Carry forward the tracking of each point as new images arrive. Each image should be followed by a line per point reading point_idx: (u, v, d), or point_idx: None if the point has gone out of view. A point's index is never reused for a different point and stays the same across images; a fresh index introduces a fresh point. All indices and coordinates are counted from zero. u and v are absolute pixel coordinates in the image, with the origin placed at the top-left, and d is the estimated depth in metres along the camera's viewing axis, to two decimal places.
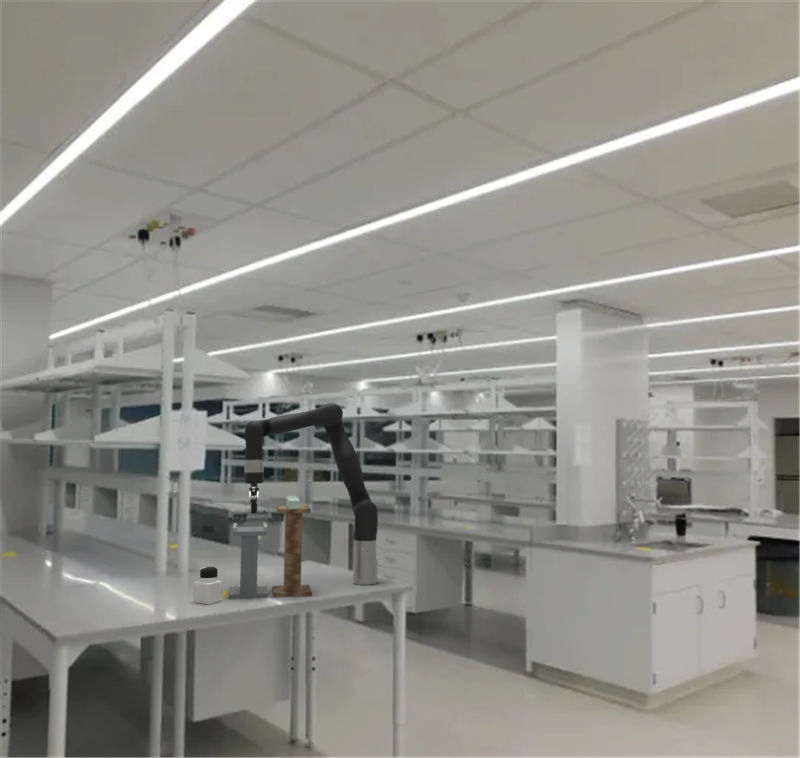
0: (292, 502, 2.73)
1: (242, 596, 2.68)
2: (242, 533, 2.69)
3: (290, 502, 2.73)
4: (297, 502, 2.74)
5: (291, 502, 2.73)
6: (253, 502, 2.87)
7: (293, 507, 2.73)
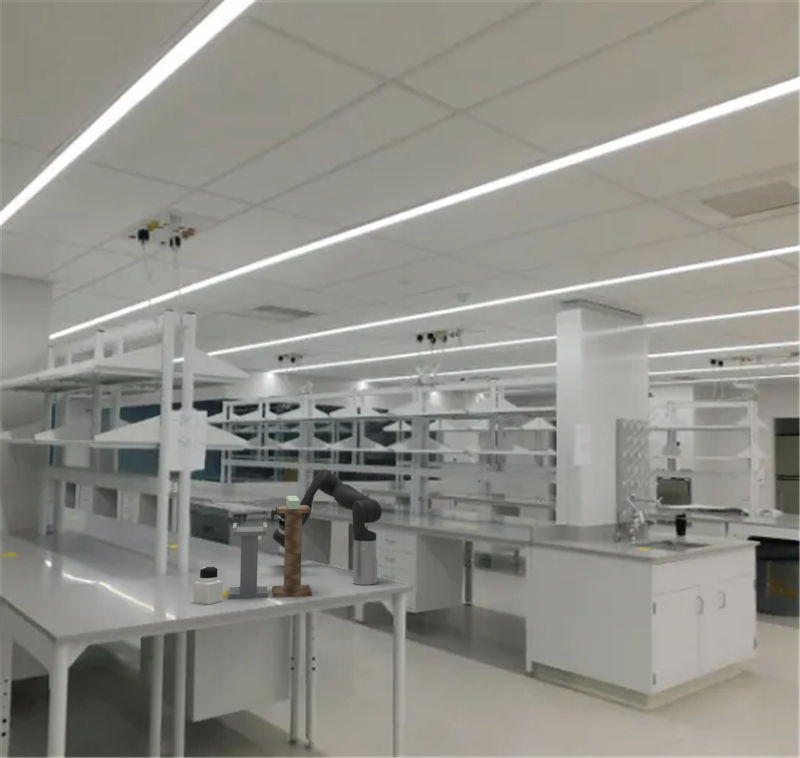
0: (292, 502, 2.73)
1: (242, 596, 2.68)
2: (242, 533, 2.69)
3: (290, 502, 2.73)
4: (297, 502, 2.74)
5: (291, 502, 2.73)
6: (273, 512, 3.11)
7: (293, 507, 2.73)
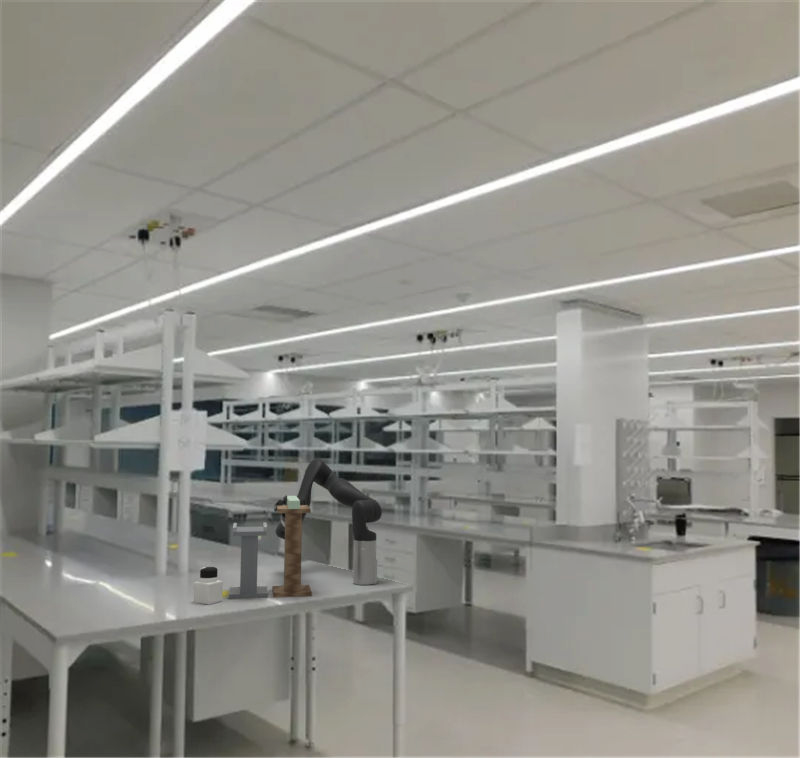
0: (292, 502, 2.73)
1: (242, 596, 2.68)
2: (242, 533, 2.69)
3: (290, 502, 2.73)
4: (297, 502, 2.74)
5: (291, 502, 2.73)
6: (280, 502, 2.93)
7: (293, 507, 2.73)
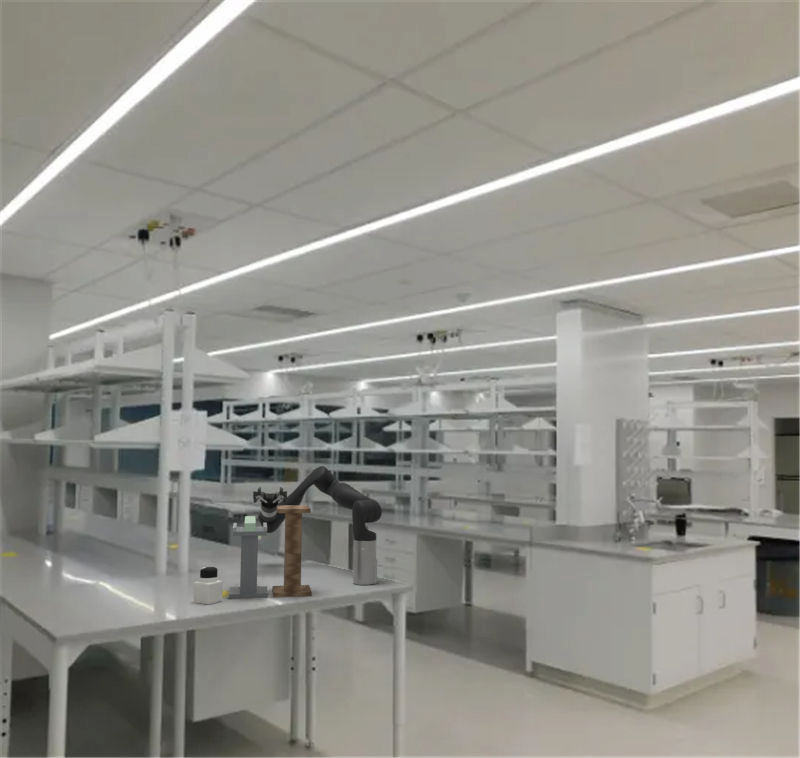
0: (247, 524, 2.70)
1: (242, 596, 2.68)
2: (242, 533, 2.69)
3: (245, 525, 2.69)
4: (253, 525, 2.70)
5: (246, 524, 2.70)
6: (255, 493, 3.13)
7: (248, 530, 2.70)
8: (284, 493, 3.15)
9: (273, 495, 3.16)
